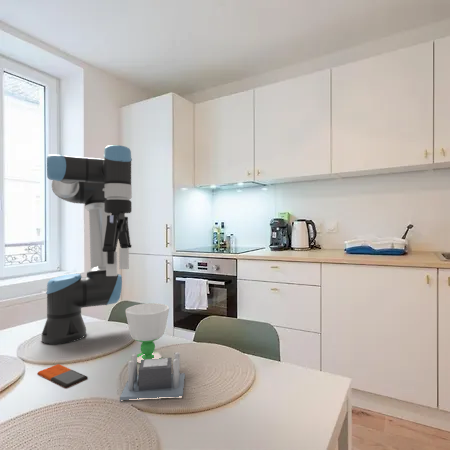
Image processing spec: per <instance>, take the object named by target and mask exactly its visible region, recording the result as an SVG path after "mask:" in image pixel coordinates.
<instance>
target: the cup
mask: <svg viewBox="0 0 450 450" xmlns="http://www.w3.org/2000/svg"><path fill="white" fill-rule="evenodd" d="M124 312H125V316H126V320H127V325H128V330H129V335H130V336H131V338H132V339H133V340H134V341H136V342H140V343H141V344H140V347H139V348H140V353H138V354H137V357H139V356H141V355H143V354H145V355H143V356H142V358H143V359H152V358H154V355H152V353H153V352H155V349H156V346H155V341H157V340H159V339H160V338H162V337H163V336H164V335H165V332H166V327H167V322H168V316H169V312H170V307H169V305H168V304H167V305H166V304H163V303H157V302H156V303H154V302H153V303H150V302H149V303H139V304H135V305H132V306H129V307H127V308H125V311H124Z"/></svg>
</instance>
